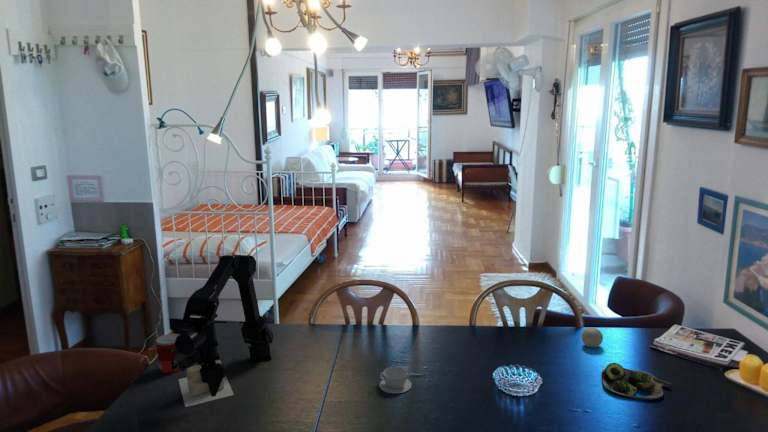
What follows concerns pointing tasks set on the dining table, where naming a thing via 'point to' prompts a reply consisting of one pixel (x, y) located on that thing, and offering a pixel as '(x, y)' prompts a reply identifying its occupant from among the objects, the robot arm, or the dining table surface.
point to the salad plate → (631, 382)
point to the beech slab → (198, 381)
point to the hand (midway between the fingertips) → (211, 388)
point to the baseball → (592, 337)
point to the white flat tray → (203, 397)
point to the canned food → (167, 353)
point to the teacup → (395, 380)
